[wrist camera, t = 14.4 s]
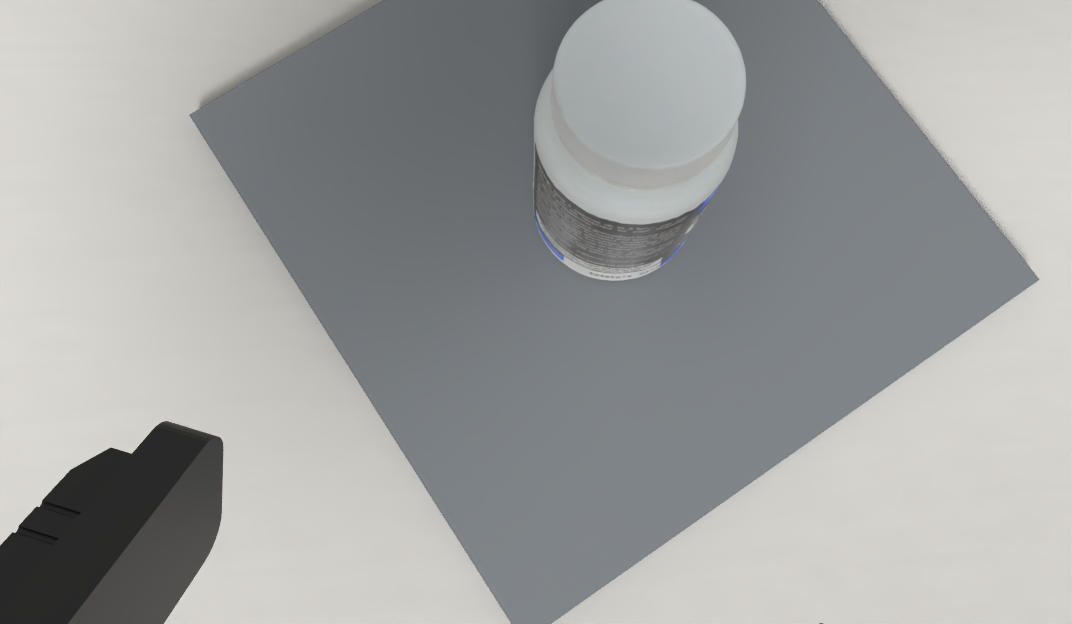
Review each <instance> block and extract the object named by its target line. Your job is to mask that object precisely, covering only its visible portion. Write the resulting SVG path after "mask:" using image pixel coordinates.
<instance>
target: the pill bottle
mask: <svg viewBox="0 0 1072 624" xmlns="http://www.w3.org/2000/svg"><path fill="white" fill-rule="evenodd" d="M745 93H746V70H745V65H744V61H743V57H742V54H741V51H740V49H739V47H738V45H737V43H736V40H735V39H734V37H733V36H732V34H731V32H730V31H729V30H728V28H727V27H726V26H725V25H724V23H723V22H722V21H721V20H720V19H719V18H718V17H717V16H716V15H715V14H713V13H712V12H711V11H710V10H708V9H707V8H706V7H704V6H703V5H701V4H699V3H697V2H695V1H692V0H603V1H601V2H599V3H597V4H596V5H594V6H593V7H591V8H590V9H588V10H587V11H586V12H585V13H583V14H582V15H581V16H580V17H579V18H578V19H577V20H576V21H575V22H574V24H573V25H572V26H571V27H570V29H569V30H568V32H567V33H566V35H565V36H564V38H563V40H562V42H561V44H560V47H559V49H558V51H557V54H556V58H555V63H554V68H553V69H552V70H551V72H550V74H549V75H548V77H547V79H546V80H545V82H544V84H543V86H542V89H541V91H540V94H539V96H538V99H537V101H536V108H535V115H534V169H533V181H532V185H533V210H534V216H535V221H536V225H537V228H538V230H539V233H540V235H541V237H542V239H543V240H544V242H545V244H546V245H547V246H548V248H549V249H550V250H551V252H552V253H553V254H554V255H555V256H556V257H557V258H558V259H559V260H560V261H561V262H562V263H564V264H565V265H567V266H568V267H569V268H571V269H573V270H574V271H576V272H578V273H580V274H582V275H585V276H588V277H591V278H595V279H600V280H610V281H618V280H628V279H634V278H638V277H642V276H644V275H646V274H649V273H651V272H652V271H654V270H656V269H658V268H660V267H661V266H662V265H664V264H665V263H666V262H667V261H669V260H670V259H671V258H672V257H673V256H674V255H675V254H676V253H677V251H678V250H679V249H680V248H681V246H682V245H683V244H684V242H685V241H686V239H687V238H688V236H689V234H690V233H691V231H692V229H693V227H694V226H695V224H696V223H697V221H698V220H699V219H700V217H701V215H702V213H703V211H704V210H705V208H706V206H707V204H708V202H709V201H710V199H711V198H712V196H713V195H714V193H715V192H716V190H717V189H718V187H719V185H720V184H721V182H722V181H723V179H724V177H725V176H726V174H727V172H728V170H729V168H730V165H731V163H732V160H733V157H734V153H735V149H736V145H737V139H738V118H739V116H740V113H741V110H742V108H743V104H744V99H745Z"/></svg>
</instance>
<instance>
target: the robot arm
mask: <svg viewBox="0 0 1072 624" xmlns="http://www.w3.org/2000/svg"><path fill="white" fill-rule="evenodd" d="M222 479H223V442H222V439H221V438H220V437H217V436H214V435H211V434H207V433H204V432H201V431H198V430H194V429H191V428H188V427H184V426H181V425H178V424H175V423H171V422H168V421H165V422H162V423H160V424H159V425H157V426H156V427H155V428H154V429H153V430H152V431H151V432H150V434H149V435H148V436H147V437H146V438H145V439H144V441H143V442H142V443H141V444H140V445H139V446H138V447H137V449H136V450H135V451H134V452H133V453H132V454H130V453H127V452H124V451H120V450H117V449H114V448H109V449H107V450H106V451H104V452H102V453H100V454H98V455H97V456H95V457H93V458H91V459H89V460H87V461H86V462H84V463H82V464H80V465H78V466H77V467H75V468H73V469H71V470H70V471H69V472H68V473H67V474H66V476H65V477H64V478H63V479H62V480H61V481H60V482H59V483H58V484H57V485H56V486H55V487H54V488H53V490H52V491H51V492H50V493H49V494H48V495H47V496H46V497H45V498H44V499H43V500H42V504H41V506H40V507H36V508H35V509H34V510H33V511H32V512H31V513H30V514H29V515H28V516H27V517H26V519H25V520H24V521H23V522H22V523H21V524H20V525H19V528H18V530H17V532H16V533H12V534H11V535H10V536H9V537H8V538H7V539H6V540H5V541H4V542H3V543H2V544H1V545H0V624H164V622H165V621H166V619H167V618H168V616H169V615H170V613H171V612H172V610H173V609H174V607H175V606H176V604H177V603H178V601H179V600H180V598H181V597H182V595H183V594H184V592H185V591H186V589H187V588H188V586H189V585H190V583H191V582H192V580H193V578H194V577H195V575H196V574H197V572H198V571H199V569H200V568H201V566H202V565H203V563H204V562H205V560H206V558H207V557H208V555H209V553H210V551H211V549H212V546H213V544H214V542H215V539H216V536H217V533H218V530H219V526H220V522H221V514H222ZM820 624H822V623H820Z"/></svg>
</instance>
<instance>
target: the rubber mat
mask: <svg viewBox="0 0 1072 624" xmlns="http://www.w3.org/2000/svg"><path fill="white" fill-rule="evenodd" d="M601 1H603V0H384V1H383V2H381V3H379V4H377V5H376V6H374V7H372V8H371V9H369V10H367V11H365V12H364V13H362V14H360V15H359V16H357V17H355V18H354V19H352V20H350V21H348V22H347V23H345V24H343V25H342V26H340V27H338V28H337V29H335V30H333V31H331V32H330V33H328V34H326V35H325V36H323V37H321V38H319V39H318V40H316V41H314V42H313V43H311V44H309V45H308V46H306V47H304V48H302V49H301V50H299V51H297V52H296V53H294V54H292V55H291V56H289V57H287V58H285V59H284V60H282V61H280V62H279V63H277V64H275V65H273V66H272V67H270V68H268V69H267V70H265V71H263V72H262V73H260V74H258V75H256V76H255V77H253V78H251V79H250V80H248V81H246V82H244V83H243V84H241V85H239V86H238V87H236V88H234V89H233V90H231V91H229V92H227V93H226V94H224V95H222V96H221V97H219V98H217V99H216V100H214V101H212V102H210V103H209V104H207V105H205V106H204V107H202V108H200V109H198V110H197V111H195V112H193V113H192V114H190V117H191V118H192V120H193V121H194V123H195V125H196V126H197V128H198V129H199V131H200V132H201V134H202V136H203V137H204V139H205V140H206V142H207V144H208V145H209V147H210V148H211V150H212V151H213V153H214V155H215V156H216V158H217V159H218V161H219V162H220V164H221V166H222V167H223V169H224V170H225V172H226V174H227V175H228V177H229V178H230V180H231V181H232V183H233V185H234V186H235V188H236V189H237V191H238V193H239V194H240V196H241V197H242V199H243V200H244V202H245V204H246V205H247V207H248V208H249V210H250V211H251V213H252V215H253V216H254V218H255V219H256V221H257V223H258V224H259V226H260V227H261V229H262V230H263V232H264V234H265V235H266V237H267V238H268V240H269V241H270V243H271V245H272V246H273V248H274V249H275V251H276V253H277V254H278V256H279V257H280V259H281V260H282V262H283V264H284V265H285V267H286V268H287V270H288V271H289V273H290V275H291V276H292V278H293V279H294V281H295V283H296V284H297V286H298V287H299V289H300V290H301V292H302V294H303V295H304V297H305V298H306V300H307V302H308V303H309V305H310V306H311V308H312V309H313V311H314V313H315V314H316V316H317V317H318V319H319V320H320V322H321V324H322V325H323V327H324V328H325V330H326V332H327V333H328V335H329V336H330V338H331V339H332V341H333V343H334V344H335V346H336V347H337V349H338V350H339V352H340V354H341V355H342V357H343V358H344V360H345V362H346V363H347V365H348V366H349V368H350V369H351V371H352V373H353V374H354V376H355V377H356V379H357V381H358V382H359V384H360V385H361V387H362V388H363V390H364V392H365V393H366V395H367V396H368V398H369V399H370V401H371V403H372V404H373V406H374V407H375V409H376V411H377V412H378V414H379V415H380V417H381V418H382V420H383V422H384V423H385V425H386V426H387V428H388V429H389V431H390V433H391V434H392V436H393V437H394V439H395V441H396V442H397V444H398V445H399V447H400V448H401V450H402V452H403V453H404V455H405V456H406V458H407V460H408V461H409V463H410V464H411V466H412V467H413V469H414V471H415V472H416V474H417V475H418V477H419V478H420V480H421V482H422V483H423V485H424V486H425V488H426V490H427V491H428V493H429V494H430V496H431V497H432V499H433V501H434V502H435V504H436V505H437V507H438V508H439V510H440V512H441V513H442V515H443V516H444V518H445V520H446V521H447V523H448V524H449V526H450V527H451V529H452V531H453V532H454V534H455V535H456V537H457V539H458V540H459V542H460V543H461V545H462V546H463V548H464V550H465V551H466V553H467V554H468V556H469V557H470V559H471V561H472V562H473V564H474V565H475V567H476V569H477V570H478V572H479V573H480V575H481V576H482V578H483V580H484V581H485V583H486V584H487V586H488V587H489V589H490V591H491V592H492V594H493V595H494V597H495V599H496V600H497V602H498V603H499V605H500V606H501V608H502V610H503V611H504V613H505V614H506V616H507V617H508V619H509V621H510V622H511V624H551V623H552V622H554V621H555V620H557V619H558V618H560V617H561V616H562V615H564V614H565V613H567V612H568V611H570V610H571V609H572V608H574V607H575V606H577V605H578V604H579V603H581V602H582V601H584V600H585V599H587V598H588V597H589V596H591V595H592V594H594V593H595V592H596V591H598V590H599V589H601V588H602V587H604V586H605V585H606V584H608V583H609V582H611V581H612V580H614V579H615V578H616V577H618V576H619V575H621V574H622V573H623V572H625V571H626V570H628V569H629V568H631V567H632V566H633V565H635V564H636V563H638V562H639V561H641V560H642V559H643V558H645V557H646V556H648V555H649V554H650V553H652V552H653V551H655V550H656V549H658V548H659V547H660V546H662V545H663V544H665V543H666V542H667V541H669V540H670V539H672V538H673V537H675V536H676V535H677V534H679V533H680V532H682V531H683V530H685V529H686V528H687V527H689V526H690V525H692V524H693V523H694V522H696V521H697V520H699V519H700V518H702V517H703V516H704V515H706V514H707V513H709V512H710V511H711V510H713V509H714V508H716V507H717V506H719V505H720V504H721V503H723V502H724V501H726V500H727V499H729V498H730V497H731V496H733V495H734V494H736V493H737V492H738V491H740V490H741V489H743V488H744V487H746V486H747V485H748V484H750V483H751V482H753V481H754V480H756V479H757V478H758V477H760V476H761V475H763V474H764V473H765V472H767V471H768V470H770V469H771V468H773V467H774V466H775V465H777V464H778V463H780V462H781V461H782V460H784V459H785V458H787V457H788V456H790V455H791V454H792V453H794V452H795V451H797V450H798V449H800V448H801V447H802V446H804V445H805V444H807V443H808V442H809V441H811V440H812V439H814V438H815V437H817V436H818V435H819V434H821V433H822V432H824V431H825V430H827V429H828V428H829V427H831V426H832V425H834V424H835V423H836V422H838V421H839V420H841V419H842V418H844V417H845V416H846V415H848V414H849V413H851V412H852V411H853V410H855V409H856V408H858V407H859V406H861V405H862V404H863V403H865V402H866V401H868V400H869V399H871V398H872V397H873V396H875V395H876V394H878V393H879V392H880V391H882V390H883V389H885V388H886V387H888V386H889V385H890V384H892V383H893V382H895V381H896V380H897V379H899V378H900V377H902V376H903V375H905V374H906V373H907V372H909V371H910V370H912V369H913V368H915V367H916V366H917V365H919V364H920V363H922V362H923V361H924V360H926V359H927V358H929V357H930V356H932V355H933V354H934V353H936V352H937V351H939V350H940V349H942V348H943V347H944V346H946V345H947V344H949V343H950V342H951V341H953V340H954V339H956V338H957V337H959V336H960V335H961V334H963V333H964V332H966V331H967V330H968V329H970V328H971V327H973V326H974V325H976V324H977V323H978V322H980V321H981V320H983V319H984V318H986V317H987V316H988V315H990V314H991V313H993V312H994V311H995V310H997V309H998V308H1000V307H1001V306H1003V305H1004V304H1005V303H1007V302H1008V301H1010V300H1011V299H1013V298H1014V297H1015V296H1017V295H1018V294H1020V293H1021V292H1022V291H1024V290H1025V289H1027V288H1028V287H1030V286H1031V285H1032V284H1034V283H1035V282H1037V281H1038V280H1039V278H1038V277H1037V276H1036V275H1035V273H1034V272H1033V271H1032V270H1031V268H1030V267H1029V266H1028V264H1027V263H1026V262H1025V261H1024V259H1023V258H1022V257H1021V256H1020V254H1019V253H1018V252H1017V251H1016V249H1015V248H1014V247H1013V246H1012V244H1011V243H1010V242H1009V241H1008V239H1007V238H1006V237H1005V236H1004V234H1003V233H1002V232H1001V231H1000V229H999V228H998V227H997V226H996V224H995V223H994V222H993V220H992V219H991V218H990V217H989V215H988V214H987V213H986V212H985V210H984V209H983V208H982V207H981V205H980V204H979V203H978V202H977V200H976V199H975V198H974V197H973V195H972V194H971V193H970V192H969V190H968V189H967V188H966V187H965V185H964V184H963V183H962V181H961V180H960V179H959V178H958V176H957V175H956V174H955V173H954V171H953V170H952V169H951V168H950V166H949V165H948V164H947V163H946V161H945V160H944V159H943V158H942V156H941V155H940V154H939V153H938V151H937V150H936V149H935V148H934V146H933V145H932V144H931V143H930V141H929V140H928V139H927V137H926V136H925V135H924V134H923V132H922V131H921V130H920V129H919V127H918V126H917V125H916V124H915V122H914V121H913V120H912V119H911V117H910V116H909V115H908V114H907V112H906V111H905V110H904V109H903V107H902V106H901V105H900V104H899V102H898V101H897V100H896V98H895V97H894V96H893V95H892V93H891V92H890V91H889V90H888V88H887V87H886V86H885V85H884V83H883V82H882V81H881V80H880V78H879V77H878V76H877V75H876V73H875V72H874V71H873V70H872V68H871V67H870V66H869V65H868V63H867V62H866V61H865V59H864V58H863V57H862V56H861V54H860V53H859V52H858V51H857V49H856V48H855V47H854V46H853V44H852V43H851V42H850V41H849V39H848V38H847V37H846V36H845V34H844V33H843V32H842V31H841V29H840V28H839V27H838V26H837V24H836V23H835V22H834V21H833V19H832V18H831V17H830V15H829V14H828V13H827V12H826V10H825V9H824V8H823V7H822V5H821V4H820V3H819V2H818V0H692V1H695V2H697V3H699V4H701V5H703V6H704V7H706V8H707V9H708V10H710V11H711V12H712V13H713V14H715V15H716V16H717V17H718V18H719V19H720V20H721V21H722V22H723V23H724V25H725V26H726V27H727V28H728V30H729V31H730V32H731V34H732V36H733V37H734V39H735V40H736V43H737V45H738V47H739V49H740V51H741V54H742V57H743V61H744V65H745V70H746V93H745V99H744V104H743V108H742V110H741V113H740V116H739V118H738V139H737V145H736V149H735V153H734V157H733V160H732V163H731V165H730V168H729V170H728V172H727V174H726V176H725V177H724V179H723V181H722V182H721V184H720V185H719V187H718V189H717V190H716V192H715V193H714V195H713V196H712V198H711V199H710V201H709V202H708V204H707V206H706V208H705V210H704V211H703V213H702V215H701V217H700V219H699V220H698V221H697V223H696V224H695V226H694V227H693V229H692V231H691V233H690V234H689V236H688V238H687V239H686V241H685V242H684V244H683V245H682V246H681V248H680V249H679V250H678V251H677V253H676V254H675V255H674V256H673V257H672V258H671V259H670V260H669V261H667V262H666V263H665V264H664V265H662V266H661V267H660V268H658V269H656V270H654V271H652V272H651V273H649V274H646V275H644V276H642V277H638V278H634V279H628V280H618V281H610V280H600V279H595V278H591V277H588V276H585V275H582V274H580V273H578V272H576V271H574V270H573V269H571V268H569V267H568V266H567V265H565V264H564V263H562V262H561V261H560V260H559V259H558V258H557V257H556V256H555V255H554V254H553V253H552V252H551V250H550V249H549V248H548V246H547V245H546V244H545V242H544V240H543V239H542V237H541V235H540V233H539V230H538V228H537V225H536V221H535V216H534V210H533V185H532V181H533V169H534V115H535V108H536V101H537V99H538V96H539V94H540V91H541V89H542V86H543V84H544V82H545V80H546V79H547V77H548V75H549V74H550V72H551V70H552V69H553V68H554V63H555V58H556V54H557V51H558V49H559V47H560V44H561V42H562V40H563V38H564V36H565V35H566V33H567V32H568V30H569V29H570V27H571V26H572V25H573V24H574V22H575V21H576V20H577V19H578V18H579V17H580V16H581V15H582V14H583V13H585V12H586V11H587V10H588V9H590V8H591V7H593V6H594V5H596V4H597V3H599V2H601Z"/></svg>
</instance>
